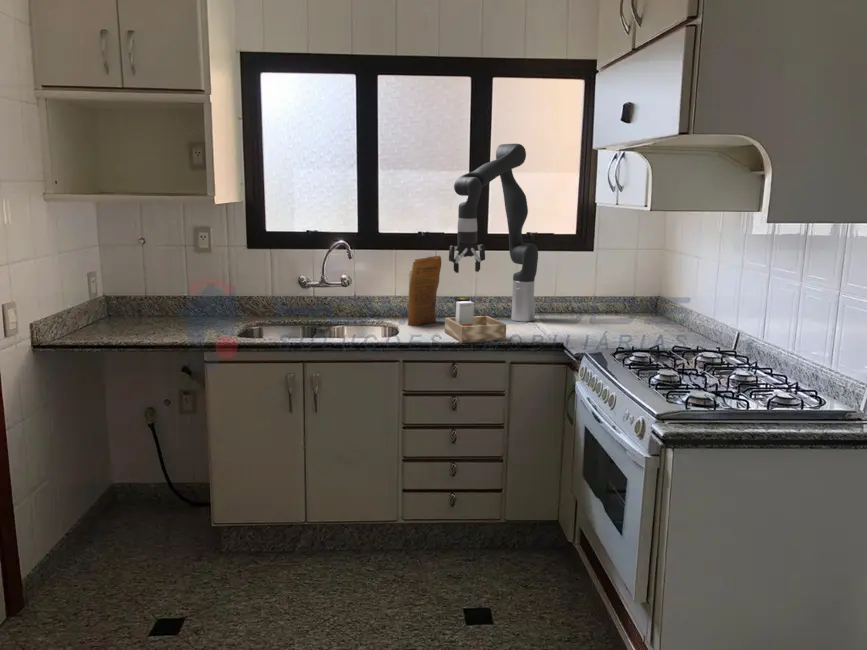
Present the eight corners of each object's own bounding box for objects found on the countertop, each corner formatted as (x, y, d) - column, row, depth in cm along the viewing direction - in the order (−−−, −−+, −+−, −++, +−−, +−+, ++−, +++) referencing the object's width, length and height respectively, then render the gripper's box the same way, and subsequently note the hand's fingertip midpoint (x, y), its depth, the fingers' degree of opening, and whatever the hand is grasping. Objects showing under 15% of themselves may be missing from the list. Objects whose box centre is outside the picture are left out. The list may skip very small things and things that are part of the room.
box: (486, 330, 291) (487, 315, 290) (505, 340, 274) (506, 324, 273) (444, 332, 285) (445, 317, 284) (461, 342, 268) (462, 326, 267)
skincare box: (458, 333, 278) (459, 303, 276) (455, 331, 282) (455, 301, 280) (473, 333, 280) (474, 302, 278) (469, 331, 284) (470, 300, 282)
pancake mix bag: (445, 321, 307) (446, 255, 302) (412, 327, 294) (413, 258, 288) (434, 319, 312) (435, 254, 306) (401, 325, 298) (402, 257, 293)
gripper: (480, 228, 283) (479, 270, 287) (446, 229, 278) (446, 271, 282) (488, 230, 276) (487, 272, 280) (453, 231, 271) (453, 274, 275)
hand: (466, 272), depth 281 cm, fingers open, 8 cm apart
